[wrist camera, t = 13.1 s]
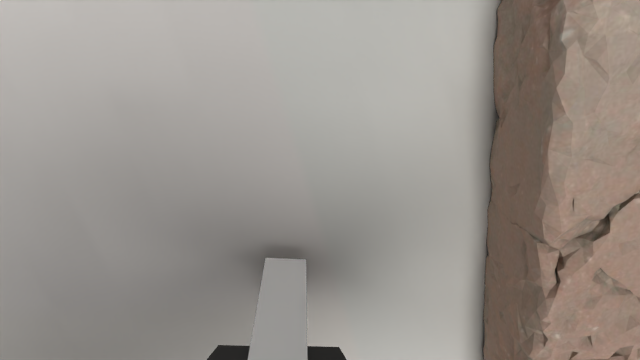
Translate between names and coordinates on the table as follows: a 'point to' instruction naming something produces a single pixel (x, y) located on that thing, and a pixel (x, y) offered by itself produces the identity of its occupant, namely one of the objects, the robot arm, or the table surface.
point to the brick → (565, 183)
